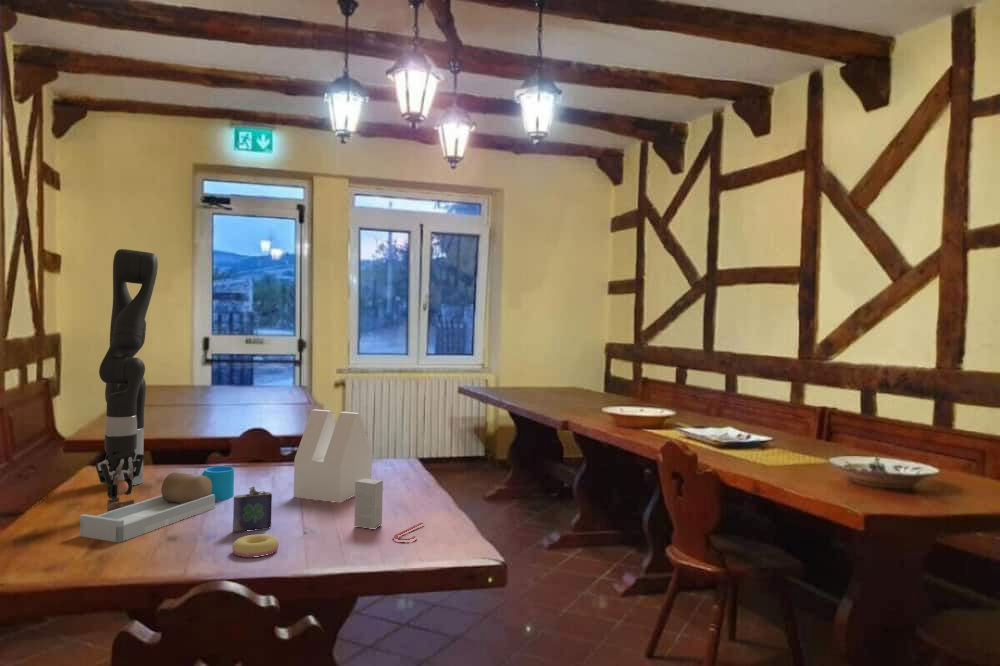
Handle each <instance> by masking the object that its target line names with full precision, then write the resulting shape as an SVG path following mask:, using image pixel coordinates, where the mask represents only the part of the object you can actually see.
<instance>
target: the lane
mask: <svg viewBox="0 0 1000 666" xmlns="http://www.w3.org/2000/svg"><path fill="white" fill-rule="evenodd" d="M201 475H202V474H200V475H199V474H192V473H185V472H178V471H177V472H176V471H174V472H171V473H169V474H168V475H166V477H165V478H164V480H163V482H162V484H161V491H160V492H161V495H158V496H154V497H151V498H148V499H145V500H142V501H138V502H134V504H132V505H128V506H125V507H122V508H119V509H115V510H112V511H109V512H107V511H106V512H105V513H104V512H103V513H102V514H101V513H100V514H98V515H92V514H88V513H87V514H86V513H83V514H80V515H79V537H82V538H88V539H94V540H100V541H106V542H111V543H118V544H119V543H123V542H125V540H126V541H128V540H131V539H133V538H136V537H139V536H141V535H145V534H147V533H150V532H153V531H156V530H159V529H160V528H161V527H162V528H164V527H166V525H167V526H170V525H172V523H173V524H175V523H178V522H181V521H184V520H186V519H188V517H189V518H191V516H192V517H195V516H197V515H200V514H202V513H205V512H209V511H211V510H214V509H215V508H216V501H215V494H211V492H212V483H211V480H210V479H209V478H208V477H207V476H201ZM194 515H195V516H194ZM183 519H184V520H183ZM180 520H181V521H180ZM169 524H170V525H169ZM163 526H164V527H163ZM158 528H159V529H158ZM162 528H161V529H162ZM155 529H156V530H155Z"/></svg>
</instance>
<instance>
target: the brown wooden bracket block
mask: <svg viewBox="0 0 1000 666" xmlns="http://www.w3.org/2000/svg"><path fill="white" fill-rule="evenodd" d="M106 504H107V505H106V506H107V507H106V509H107V510H106V513H107V512H109V511H112V510H115V509H119V508H122V507H125V506H128V505H132V504H135V500H134V499H128V500H126V501H121V500H120V497H118V496H117V498H115V499H110V498H109V499H107V503H106Z"/></svg>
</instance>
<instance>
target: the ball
mask: <svg viewBox="0 0 1000 666" xmlns="http://www.w3.org/2000/svg"><path fill="white" fill-rule="evenodd" d="M116 485H117V496H122V495H125V494H124V493H126V492H127V490H128V483H127V482H126V481H125V480H117V484H116Z"/></svg>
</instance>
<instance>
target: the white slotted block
mask: <svg viewBox="0 0 1000 666" xmlns="http://www.w3.org/2000/svg"><path fill="white" fill-rule="evenodd" d="M293 462H294V463H293V464H294V467H293V468H294V469H293V498H295V497H297V498H296V499H303V498H305V499H304V500H310V499H313V500H312V501H318V500H324V501H323V502H326V501H335V502H341V501H343V500H345V499H347V498H349V497H351V496H353V495H355V482H356V481H358V480H361V479H363V478H364V479H372V475H373V474H372V471H373V470H372V469H373V465H372V464H373V450H372V448H371V444H370V441H369V438H368V435H367V431H366V428H365V425H364V421H363V419H362V416H361V413H360V412H351V411H350V412H349V411H339V413H338V416H337V420H336V419H335V416H334V412H333V410H328V409H311V412H310V415H309V418H308V420H307V422H306V425H305V429H304V431H303V434H302V436H301V440H300V442H299V445H298V448H297V450H296V453H295V457H294V461H293ZM349 499H350V498H349ZM347 500H348V499H347ZM345 501H346V500H345ZM343 502H344V501H343ZM341 503H342V502H341Z"/></svg>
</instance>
